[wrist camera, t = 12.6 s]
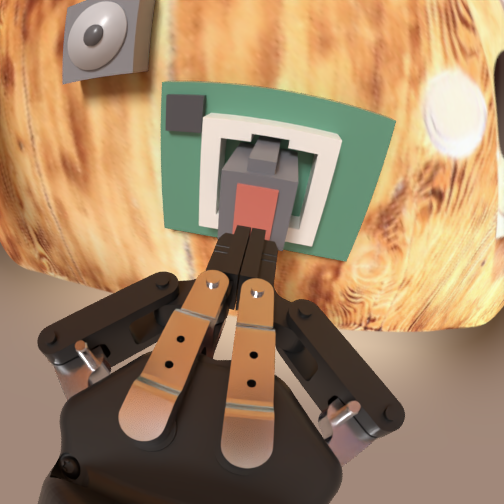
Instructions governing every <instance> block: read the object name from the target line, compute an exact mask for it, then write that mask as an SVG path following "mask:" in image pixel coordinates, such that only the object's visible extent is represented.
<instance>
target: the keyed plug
mask: <svg viewBox="0 0 504 504" xmlns="http://www.w3.org/2000/svg"><path fill="white" fill-rule="evenodd" d="M280 142H281V139H280V138H274V137H268V136H262V135H260V136H259V138H258V140H257V142H256V144H249V143H242V142H240V144H239V145H238V147H237V148H236V150H235V151H234V152H233V154H232V155H231V157H230V158H229V160H228V161H227V163H226V164H225V166H224V167H223V169H222V173H221V187H220V202H219V219H218V238H217V239H219V237H221V236H222V235H223V234H224V233H231V234H234V233H235V230H236V227H237V225H241V226H247V227H251V231H252V228H258V229H263V230H266V234H265V240H269V241H274V242H275V243H276V245H277V248H278V250H280V251H283V247H284V243H285V239H286V235H287V231H288V226H289V222H290V218H291V213H292V209H293V205H294V200H295V196H296V191H297V187H298V152H296V151H291V150H286V149H280Z"/></svg>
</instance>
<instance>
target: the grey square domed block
mask: <svg viewBox="0 0 504 504" xmlns="http://www.w3.org/2000/svg"><path fill="white" fill-rule="evenodd" d="M154 6H155V0H86V1H83V2H81V3H78V4H76V5H73V6H71V7H68V9H67V16H66V24H65V34H64V47H63V84H66V83H71V82H76V81H81V80H86V79H91V78H97V77H104V76H111V75H119V74H128V73H136V72H144V71H148V63H149V50H150V39H151V29H152V21H153V13H154Z"/></svg>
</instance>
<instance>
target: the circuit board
mask: <svg viewBox="0 0 504 504" xmlns="http://www.w3.org/2000/svg"><path fill="white" fill-rule="evenodd" d="M395 123H396V121H395V120H393V119H392V118H389V117H387V116H384V115H381V114H378V113H375V112H372V111H369V110H365V109H362V108H359V107H355V106H352V105H348V104H345V103H341V102H337V101H333V100H329V99H325V98H321V97H317V96H312V95H307V94H302V93H297V92H292V91H286V90H281V89H274V88H268V87H260V86H252V85H244V84H233V83H221V82H202V81H166V82H162V99H161V172H162V195H163V212H164V225H165V228H168V229H174V230H179V231H185V232H190V233H196V234H202V235H207V236H213V237H218V219H219V202H220V187H221V173H222V169H223V167H224V166H225V164H226V163H227V161H228V160H229V158H230V157H231V155H232V154H233V152H234V151H235V150H236V148H237V147H238V145H239V144H240V142H242V143H249V144H256V142H257V140H258V138H259V136H260V135H262V136H268V137H274V138H280V139H281V142H280V149H286V150H291V151H296V152H298V187H297V191H296V196H295V200H294V205H293V209H292V213H291V218H290V222H289V226H288V231H287V235H286V239H285V243H284V247H283V250H288V251H294V252H299V253H304V254H309V255H315V256H320V257H325V258H330V259H336V260H341V261H347V258H348V256H349V254H350V251H351V249H352V247H353V244H354V242H355V239H356V237H357V235H358V232H359V230H360V227H361V225H362V222H363V219H364V217H365V214H366V212H367V209H368V206H369V204H370V201H371V198H372V195H373V193H374V190H375V187H376V184H377V181H378V178H379V175H380V172H381V169H382V166H383V163H384V160H385V157H386V154H387V150H388V147H389V144H390V140H391V137H392V134H393V130H394V126H395Z"/></svg>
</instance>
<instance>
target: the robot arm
mask: <svg viewBox="0 0 504 504" xmlns="http://www.w3.org/2000/svg"><path fill="white" fill-rule="evenodd" d="M265 234H266V230H263V229H258V228H252V231H251V227H247V226H241V225H237V227H236V230H235V233H234V234H231V233H224V234H223V235H222V236H221V237H219V239H218V241H217V244H216V246H215V249H214V251H213V254H212V256H211V259H210V261H209V263H208V266H207V268H206V271H204V272H202V273H201V274H200V275H199V276H198V277H197V279H194V280H189V281H178V279H177V277H176V276H175V275H174V274H172V273H169V272H158V273H155V274H153V275H151V276H149V277H147V278H145V279H143V280H140V281H138V282H136V283H134V284H132V285H130V286H128V287H126V288H124V289H122V290H120V291H118V292H116V293H114V294H111V295H109V296H107V297H105V298H103V299H101V300H99V301H97V302H95V303H93V304H91V305H89V306H87V307H85V308H83V309H81V310H79V311H77V312H75V313H73V314H71V315H69V316H67V317H65V318H63V319H61V320H59V321H57V322H55V323H53V324H52V325H50V326H48V327H46V328H44V329H43V330H42V331H41V333H40V335H39V337H38V347H39V349H40V350H41V352H42V353H43V354H44V355H45V356H46V357H47V359H48V361H49V362H50V363H51V364H52V365H53V366H54V369H55V372H56V374H57V377H58V380H59V382H60V385H61V387H62V389H63V392H64V394H65V396H66V398H67V402H66V403H65V405H64V407H63V408H62V411H61V415H60V429H61V440H62V441H61V453H60V456H59V459H58V461H57V462H56V464H55V465H54V467H53V468H52V470H51V471H50V473H49V474H48V476H47V477H46V479H45V480H44V483H43V486H42V490H41V493H40V497H39V501H38V504H329V503H330V501H331V500H332V498H333V497H334V496H335V495H336V493H337V492H338V490H339V488H340V485H341V482H342V467H343V466H344V465H345V464H347V463H348V462H349V461H351V460H352V459H353V458H354V457H356V456H357V455H358V454H359V453H360V452H362V451H363V450H364V449H365V448H367V447H368V446H369V445H370V444H371V443H372V442H373V441H375V440H377V439H379V438H381V437H383V436H385V435H387V434H389V433H391V432H393V431H395V430H397V429H399V428H400V427H401V425H402V424H403V422H404V418H405V412H404V408H403V407H402V405H401V404H400V402H399V401H398V400H397V399H396V398H395V396H394V395H393V394H392V393H391V392H390V390H389V389H388V388H387V387H386V386H385V385H384V383H383V382H382V381H381V380H380V379H379V377H378V376H377V375H376V374H375V373H374V371H373V370H372V369H371V368H370V367H369V366H368V364H367V363H366V362H365V361H364V360H363V358H362V357H361V356H360V355H359V354H358V353H357V351H356V350H355V349H354V348H353V347H352V346H351V344H350V343H349V342H348V341H347V340H346V339H345V337H344V336H343V335H342V334H341V333H340V332H339V330H338V329H337V328H336V327H335V326H334V325H333V323H332V322H331V321H330V320H329V319H328V318H327V316H326V315H325V314H324V313H323V312H322V311H321V310H320V308H319V307H318V306H317V305H316V304H315V303H313V302H311V301H309V300H305V299H299V300H295V301H294V302H289V301H287V300H285V299H283V298H282V297H280V296H279V295H278V294H277V293H276V291H275V289H274V278H275V270H276V262H277V253H278V248H277V245H276V243H275V242H274V241H269V240H265ZM236 300H237V302H236ZM235 304H236V310H238V316H237V324H236V331H235V339H234V346H233V353H232V360H214V359H213V356H214V352H215V350H216V347H217V344H218V341H219V339H220V336H221V333H222V330H223V328H224V325H225V322H226V318H227V315H228V312H229V309H233V310H234V308H235ZM156 342H157V344H156V346H155V348H154V350H153V351H151V352H148V353H146V354H143V355H142V356H140V357H138V358H137V359H135V360H133V361H132V362H130V363H128V364H127V365H125V366H123V367H122V368H120V369H118V370H117V371H115V372H113V373H111V374H110V372H111V367H113V366H114V365H116V364H118V363H120V362H122V361H124V360H125V359H127V358H129V357H131V356H133V355H134V354H136V353H138V352H140V351H142V350H143V349H145V348H147V347H149V346H151V345H152V344H154V343H156ZM275 346H276V349H277V351H278V352H279V354H280V356H281V357H282V358H283V360H284V361H285V363H286V364H287V365H288V367H289V368H290V369H291V371H292V372H293V374H294V375H295V376H296V378H297V379H298V380H299V382H300V383H301V385H302V386H303V387H304V389H305V390H306V391H307V393H308V394H309V395H310V397H311V398H312V399H313V401H314V402H315V403H316V405H317V406H318V407H319V409H320V410H321V411H322V412H321V414H320V415H319V419H318V425H319V427H320V429H321V431H322V434H323V437H322V435H321V434H320V433H319V431H318V430H317V428H316V427H315V425H314V424H313V423H312V421H311V420H310V418H309V417H308V415H307V414H306V412H305V411H304V409H303V408H302V406H301V405H300V403H299V402H298V400H297V399H296V397H295V396H294V394H293V393H292V391H291V390H290V388H289V387H288V386H287V385H286V383H285V382H284V381H282V380H281V379H280V378H279V377H277V376H276V375H274V370H275Z"/></svg>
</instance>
